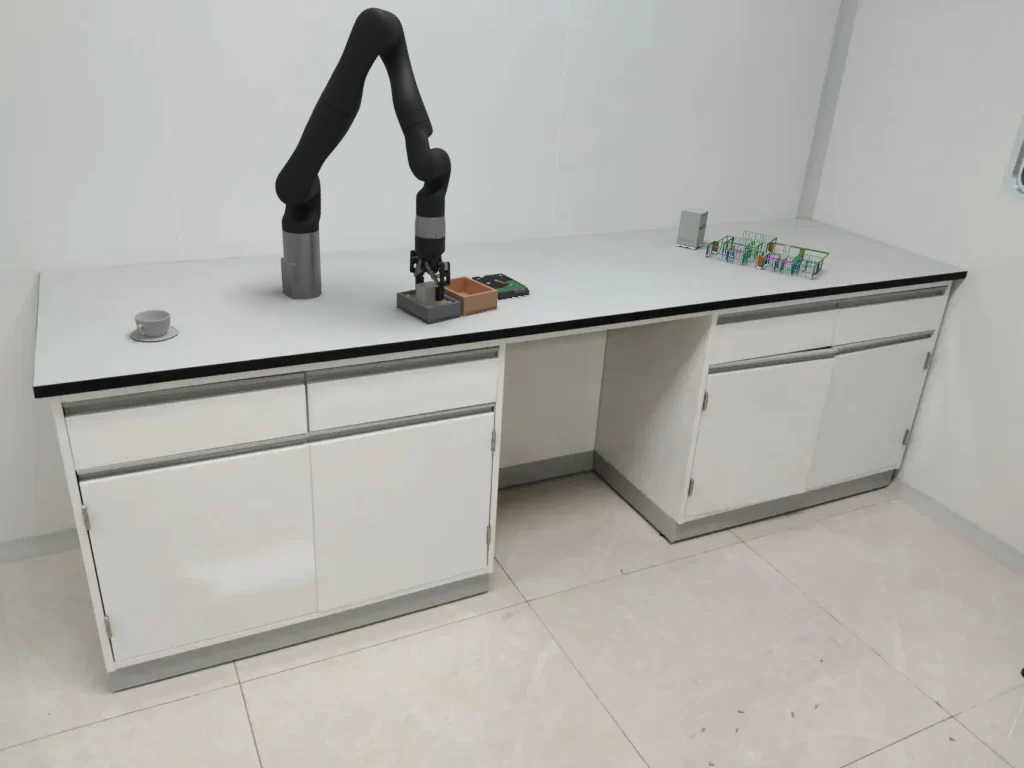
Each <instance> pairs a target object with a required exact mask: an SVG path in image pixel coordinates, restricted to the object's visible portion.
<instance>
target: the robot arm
mask: <svg viewBox="0 0 1024 768" xmlns="http://www.w3.org/2000/svg"><path fill="white" fill-rule="evenodd" d="M404 31H405V30H404V27H403V24H402V22H401V21H400V19H399V17H398V16H397V15H396V14H394V13H393V12H391V11H389V10H386V9H382V8H378V7H369V8H366V9H364V10H362V11H361V12H360V13H359V14H358V15H357V17H356V19H355V21H354V23H353V26H352V28H351V31H350V33H349V36H348V38H347V41H346V44H345V46H344V48H343V51H342V53H341V56H340V58H339V60H338V62H337V64H336V66H335V68H334V70H333V71H332V74H330V77H329V79H328V81H327V83H326V85H325V87H324V88H323V90H322V92H321V94H320V96H319V98H318V100H317V102H316V104H315V106H314V107H313V109H312V112H311V114H310V117H308V120H307V122H306V125H305V126H304V129H303V132H302V134H301V136H300V138H299V141H298V143H297V145H296V147H295V148H294V150H293V152H292V153H291V155H290V157H289V158H288V160H287V161H286V163H285V165H284V166H283V167H282V169H280V172H279V173H278V174H277V177H276V179H275V182H274V183H275V185H274V189H275V193H276V195H277V198H278V199H279V201H280V202H281V203H282V204H284V205H285V209H284V212H283V215H282V218H281V236H282V248H283V250H282V251H283V257H280V268H281V269H280V271H281V273H280V274H281V287H282V288H281V289H282V294H284V295H285V296H287V297H289V298H290V299H292V300H296V299H304V300H305V299H313V298H317V297H319V296H321V295H322V287H323V286H322V285H323V284H322V270H321V267H322V266H321V265H322V264H321V245H320V244H321V241H320V239H321V238H320V219H321V217H322V190H321V189H322V187H321V181H320V177H319V173H320V170H321V169H322V167H323V165H324V164H325V161H327V160H328V158H329V157H330V155H331V154H332V153H333V151H334V150H335V149H336V148H337V147H338V146H339V145H340V143H341V142H342V140H343V139H344V138H345V136H346V135H347V134H348V132H349V130H350V128H351V127H352V125H353V123H354V121H355V119H356V117H357V116H358V113H359V111H360V108H361V104H362V101H363V93H364V87H365V83H366V79H367V76H368V74H369V72H370V70H371V69H372V66H373V65H374V63H375V62H376V60H377V58H378V57H379V58H380V60H381V62H382V64H383V66H384V68H385V70H386V72H387V73H386V74H387V77H388V79H389V84H390V90H391V99H392V100H391V101H392V105H393V110H394V113H395V117H396V119H397V121H398V124H399V126H400V129H401V131H402V134H403V136H404V143H405V145H404V146H405V150H406V151H405V152H406V157H407V163H408V167H409V169H410V171H411V173H412V174H413V176H414V177H415V178H416V179H417V180H419V182H420V181H421V182H423V186H422V187H421V189H419V190H418V191H417V193H416V195H415V220H414V249H413V250H410V252H409V272H410V273H411V274H413V277H414V286H415V290H416V284H419V283H424V282H425V277H424V276H425V274H427V275H429V276H430V278H431V280H432V281H434V283H435V285H436V287H435V300H436V301H442V300H443V299H444V287H445V286H449V285H450V279H451V262H450V261H443V259H442V255H443V254H444V253H445V252H446V233H447V232H446V231H447V230H446V228H447V227H446V226H447V225H446V195H447V192H448V189H449V183H450V179H451V175H452V174H451V173H452V163H451V158H450V156H449V153H448V151H446V150H444V149H443V148H441V147H433V148H431V146H430V141H429V138H430V137H431V136H432V135H433V133H434V130H433V128H434V127H433V125H432V122H431V120H430V116H429V113H428V112H427V111H428V110H427V109H426V106H425V103H424V101H423V98H422V96H421V93H420V90H419V87H418V83H417V80H416V78H415V74H414V70H413V66H412V62H411V59H410V58H411V57H410V55H409V54H410V53H409V50H408V45H407V41H406V36H405V32H404ZM445 280H446V281H445ZM439 281H440V282H439Z"/></svg>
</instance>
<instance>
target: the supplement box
mask: <svg viewBox="0 0 1024 768" xmlns="http://www.w3.org/2000/svg"><path fill="white" fill-rule="evenodd" d="M708 215H709V210H707V209H702V208H696V207H690V206H689V207H687V208H685V209H682V210H681V212H680V219H679V226H678V230H677V231H678V233H677V237H676V244H679V245H684V246H688V247H693V248H697V247H699V246H700V245H702V244H704V240H705V239H704V238H705V233H706V228H707V222H708ZM699 248H700V247H699ZM697 249H698V248H697Z"/></svg>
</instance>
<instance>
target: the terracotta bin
mask: <svg viewBox="0 0 1024 768" xmlns="http://www.w3.org/2000/svg"><path fill="white" fill-rule="evenodd" d="M438 281H439V282H440V280H438ZM445 281H446V279H445ZM444 294H445V295H447V296H450V297H452V298H454V299H456V300H458V301H460V302H461V316H462V317H466V315H467V316H470V315H474V313H475V314H479V312H480V313H484V312H488V311H487V310H489V311H493V310H497V309H498V300H497V299H498V290H496V289H494V288H491V287H489V286H487V285H485V284H482V283H480V282H478V281H476V280H473V279H472V277H468V276H466V275H463V276H458V277H457V276H456V277H451V278H450V285H449V286H445V287H444ZM496 308H497V309H496ZM492 309H493V310H492ZM483 311H484V312H483Z"/></svg>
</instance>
